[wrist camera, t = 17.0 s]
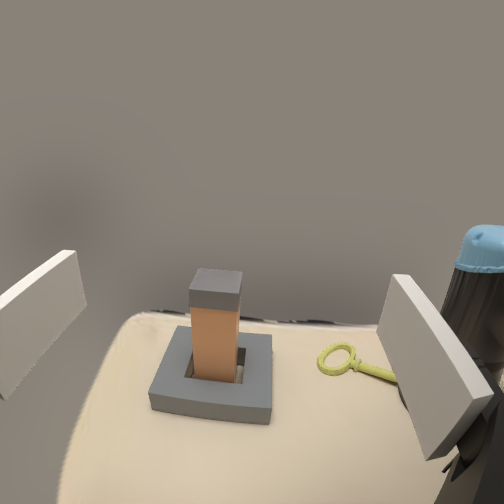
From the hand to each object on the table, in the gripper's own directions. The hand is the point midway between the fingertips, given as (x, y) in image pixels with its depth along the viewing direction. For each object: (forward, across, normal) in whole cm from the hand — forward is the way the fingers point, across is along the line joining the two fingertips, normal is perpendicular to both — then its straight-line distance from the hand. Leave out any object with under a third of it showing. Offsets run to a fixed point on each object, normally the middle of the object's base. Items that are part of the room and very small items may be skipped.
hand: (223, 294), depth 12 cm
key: (+20, +15, -23) cm, 34 cm away
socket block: (+16, -3, -22) cm, 28 cm away
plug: (+16, -3, -22) cm, 28 cm away
